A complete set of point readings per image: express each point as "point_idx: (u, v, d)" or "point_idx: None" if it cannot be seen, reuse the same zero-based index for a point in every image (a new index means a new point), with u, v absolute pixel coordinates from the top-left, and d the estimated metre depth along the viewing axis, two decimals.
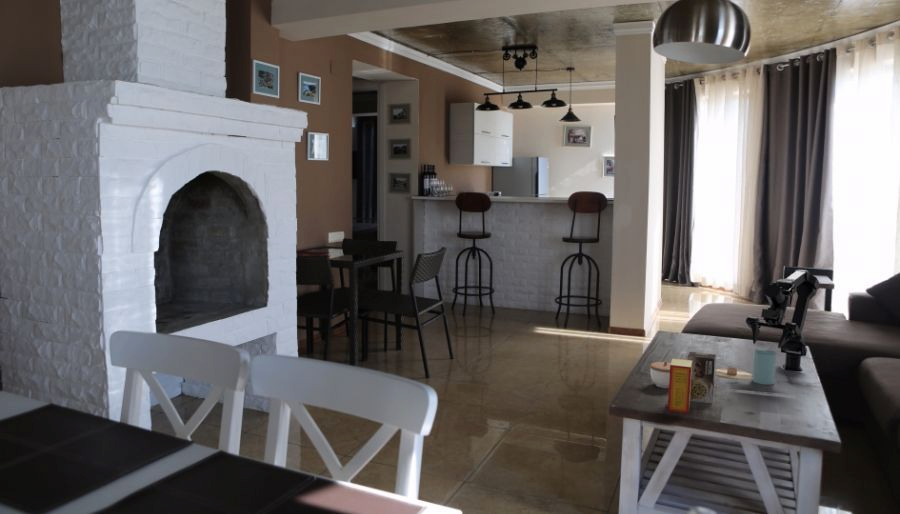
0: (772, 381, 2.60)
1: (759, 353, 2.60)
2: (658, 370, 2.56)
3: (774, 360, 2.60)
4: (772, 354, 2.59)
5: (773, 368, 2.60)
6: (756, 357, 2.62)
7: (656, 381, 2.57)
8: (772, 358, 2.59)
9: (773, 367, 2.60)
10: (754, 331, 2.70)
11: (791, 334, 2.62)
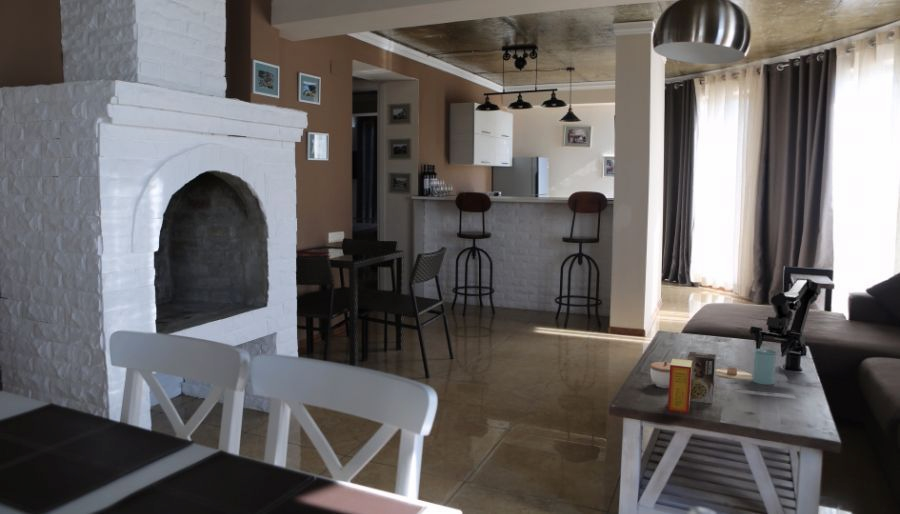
0: (772, 381, 2.60)
1: (759, 353, 2.60)
2: (658, 370, 2.56)
3: (774, 360, 2.60)
4: (772, 354, 2.59)
5: (773, 368, 2.60)
6: (756, 357, 2.62)
7: (656, 381, 2.57)
8: (772, 358, 2.59)
9: (773, 367, 2.60)
10: (757, 340, 2.70)
11: (795, 344, 2.63)
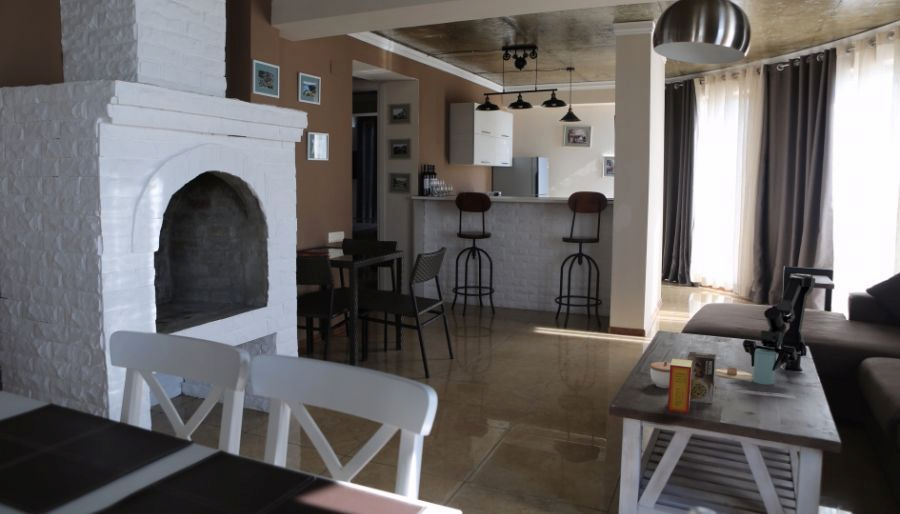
0: (772, 381, 2.60)
1: (759, 353, 2.60)
2: (658, 370, 2.56)
3: (774, 360, 2.60)
4: (772, 354, 2.59)
5: None
6: (756, 357, 2.61)
7: (656, 381, 2.57)
8: (772, 358, 2.59)
9: None
10: (752, 354, 2.66)
11: (786, 358, 2.60)
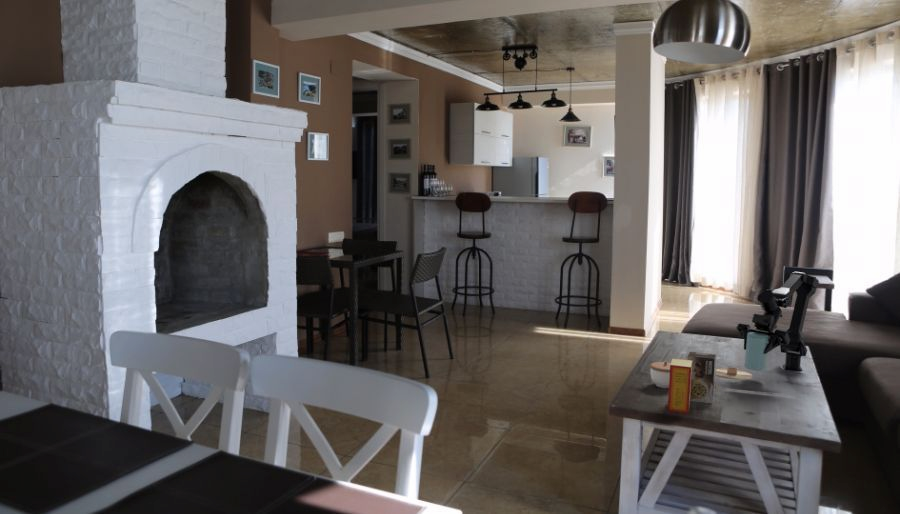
0: (763, 364, 2.62)
1: (750, 336, 2.62)
2: (658, 370, 2.56)
3: (766, 344, 2.61)
4: (763, 338, 2.60)
5: None
6: (748, 340, 2.63)
7: (656, 381, 2.57)
8: (763, 341, 2.60)
9: None
10: (746, 337, 2.68)
11: (778, 341, 2.61)
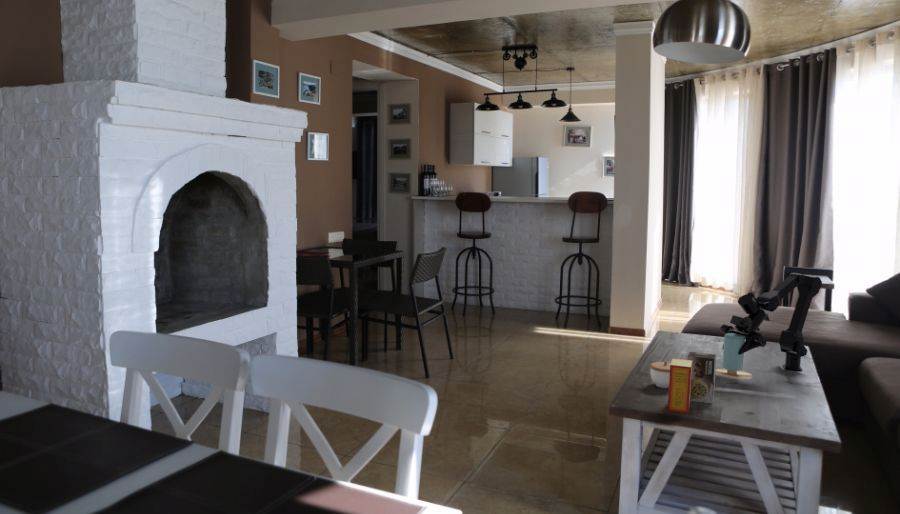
0: (738, 365, 2.69)
1: (726, 337, 2.71)
2: (658, 370, 2.56)
3: (740, 345, 2.68)
4: (737, 338, 2.68)
5: None
6: (724, 340, 2.72)
7: (656, 381, 2.57)
8: (737, 342, 2.68)
9: None
10: None
11: (754, 343, 2.67)
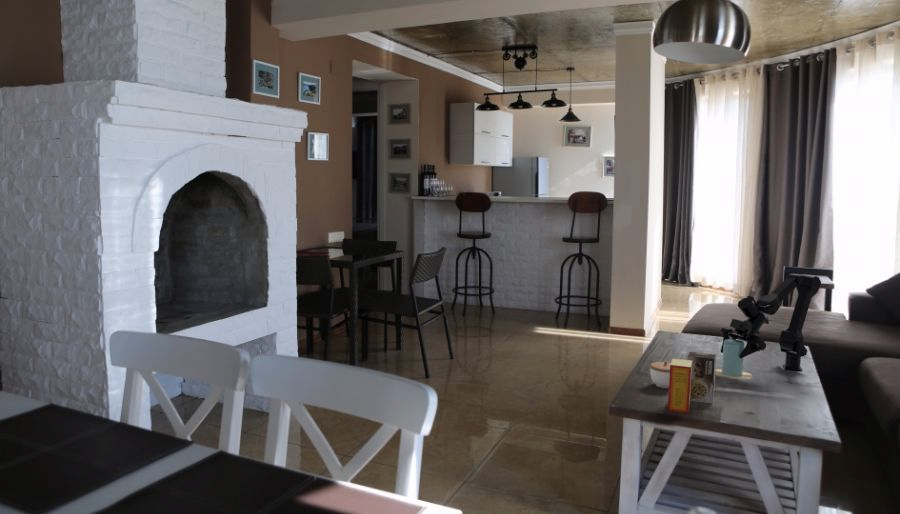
0: (738, 371, 2.70)
1: (725, 342, 2.71)
2: (658, 370, 2.56)
3: (740, 350, 2.69)
4: (737, 344, 2.68)
5: (739, 358, 2.69)
6: (724, 346, 2.73)
7: (656, 381, 2.57)
8: (737, 348, 2.68)
9: None
10: None
11: (755, 347, 2.67)
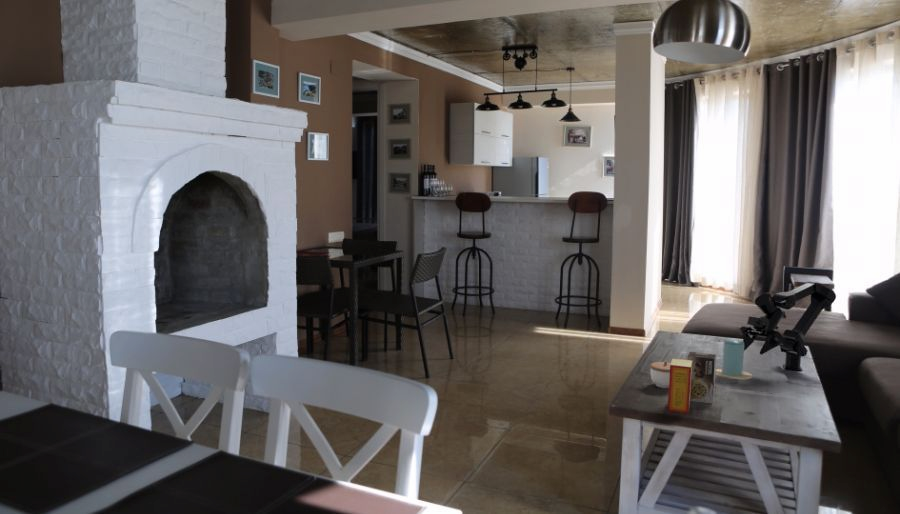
0: (738, 371, 2.70)
1: (725, 342, 2.71)
2: (658, 370, 2.56)
3: (740, 350, 2.69)
4: (737, 344, 2.68)
5: (739, 358, 2.69)
6: (724, 346, 2.73)
7: (656, 381, 2.57)
8: (737, 348, 2.68)
9: (739, 357, 2.69)
10: (744, 339, 2.81)
11: (774, 342, 2.70)
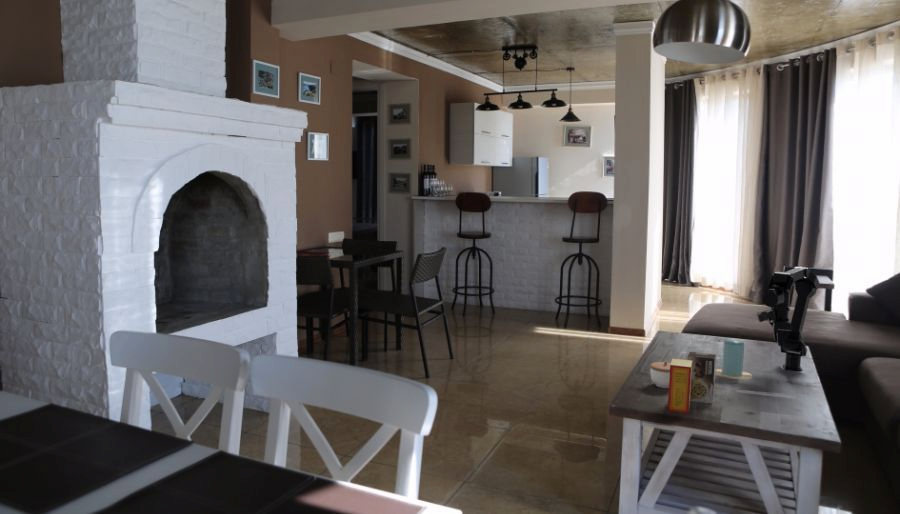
0: (738, 371, 2.70)
1: (725, 342, 2.71)
2: (658, 370, 2.56)
3: (740, 350, 2.69)
4: (737, 344, 2.68)
5: (739, 358, 2.69)
6: (724, 346, 2.73)
7: (656, 381, 2.57)
8: (737, 348, 2.68)
9: (739, 357, 2.69)
10: (773, 329, 2.80)
11: (783, 331, 2.67)
